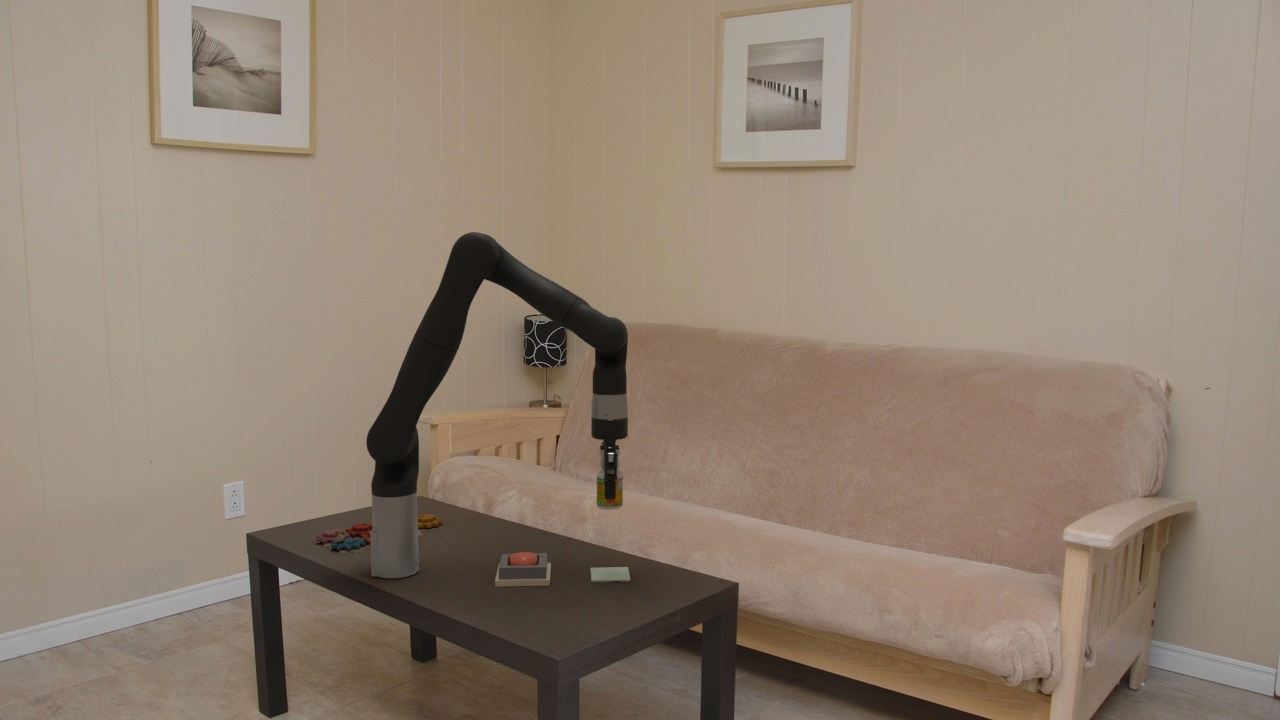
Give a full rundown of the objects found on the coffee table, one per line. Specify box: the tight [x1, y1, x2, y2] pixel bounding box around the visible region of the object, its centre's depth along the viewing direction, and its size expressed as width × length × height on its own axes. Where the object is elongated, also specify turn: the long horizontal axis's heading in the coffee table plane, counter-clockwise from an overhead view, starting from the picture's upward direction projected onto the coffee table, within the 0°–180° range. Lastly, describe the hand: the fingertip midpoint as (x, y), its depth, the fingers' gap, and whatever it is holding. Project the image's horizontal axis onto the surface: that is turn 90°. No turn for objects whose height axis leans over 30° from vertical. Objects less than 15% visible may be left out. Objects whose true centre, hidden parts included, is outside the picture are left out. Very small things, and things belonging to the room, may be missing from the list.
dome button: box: [510, 551, 537, 566], centre depth 199 cm, size 6×6×3 cm
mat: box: [590, 566, 631, 583], centre depth 201 cm, size 8×8×1 cm
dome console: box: [494, 552, 552, 588], centre depth 200 cm, size 11×11×4 cm
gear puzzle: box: [314, 513, 444, 553], centre depth 230 cm, size 31×16×4 cm, turn 134°
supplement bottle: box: [596, 459, 624, 511], centre depth 199 cm, size 5×5×10 cm
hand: (609, 494), depth 199 cm, fingers closed on supplement bottle, 5 cm apart
